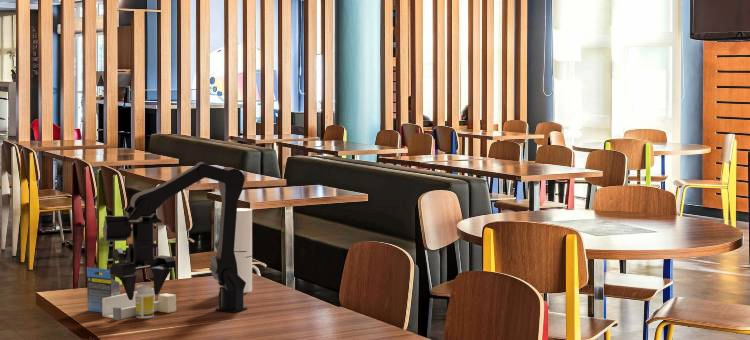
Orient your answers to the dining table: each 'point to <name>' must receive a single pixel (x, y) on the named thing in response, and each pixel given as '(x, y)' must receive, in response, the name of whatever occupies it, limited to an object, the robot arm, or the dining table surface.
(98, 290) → the label tape cartridge
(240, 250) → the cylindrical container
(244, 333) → the dining table surface
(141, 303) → the supplement bottle
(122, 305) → the white bracket
